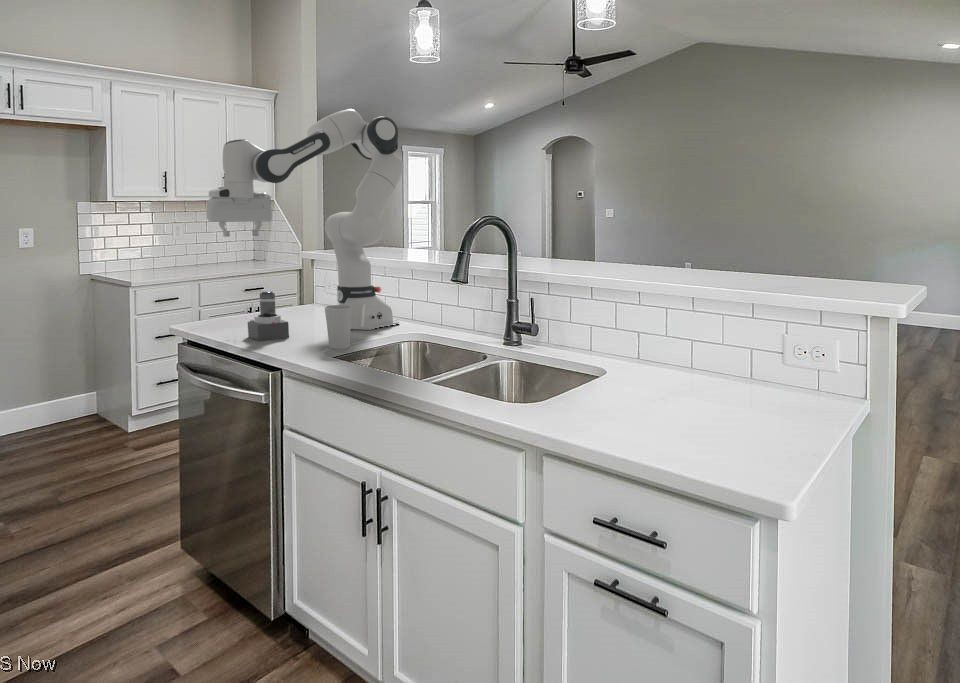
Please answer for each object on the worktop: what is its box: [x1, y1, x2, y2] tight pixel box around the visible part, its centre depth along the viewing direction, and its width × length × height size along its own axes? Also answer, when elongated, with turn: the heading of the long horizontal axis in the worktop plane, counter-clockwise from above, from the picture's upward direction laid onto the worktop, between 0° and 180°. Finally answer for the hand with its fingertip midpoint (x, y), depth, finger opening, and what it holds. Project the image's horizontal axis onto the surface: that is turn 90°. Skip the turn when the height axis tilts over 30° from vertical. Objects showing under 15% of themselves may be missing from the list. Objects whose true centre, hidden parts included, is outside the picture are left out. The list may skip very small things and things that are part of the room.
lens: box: [259, 290, 277, 317], centre depth 219 cm, size 5×5×9 cm
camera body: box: [247, 313, 290, 342], centre depth 220 cm, size 10×9×7 cm
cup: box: [324, 304, 352, 350], centre depth 207 cm, size 8×8×12 cm
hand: (241, 236), depth 223 cm, fingers open, 8 cm apart
